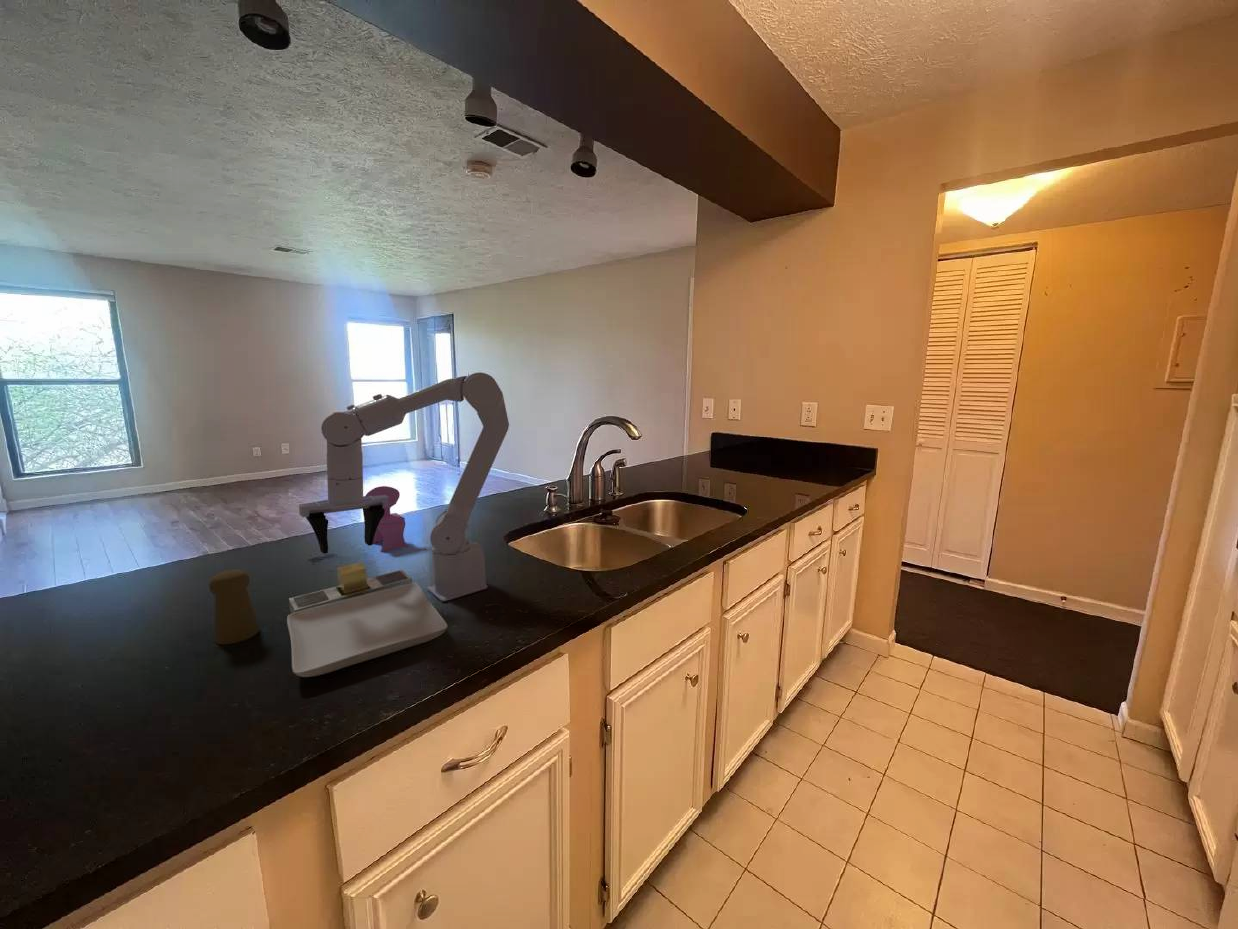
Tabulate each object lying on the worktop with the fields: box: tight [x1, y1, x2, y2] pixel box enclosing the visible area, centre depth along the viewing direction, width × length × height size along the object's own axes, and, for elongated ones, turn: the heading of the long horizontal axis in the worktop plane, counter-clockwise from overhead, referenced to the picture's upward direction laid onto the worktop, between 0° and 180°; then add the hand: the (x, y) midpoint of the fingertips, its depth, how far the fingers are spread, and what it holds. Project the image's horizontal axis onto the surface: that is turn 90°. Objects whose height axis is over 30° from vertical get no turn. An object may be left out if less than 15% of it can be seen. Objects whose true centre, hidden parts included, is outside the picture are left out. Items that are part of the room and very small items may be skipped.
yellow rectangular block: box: [336, 562, 368, 596], centre depth 93 cm, size 4×4×6 cm
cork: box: [208, 569, 261, 645], centre depth 80 cm, size 6×6×11 cm
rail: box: [288, 569, 413, 614], centre depth 93 cm, size 20×6×2 cm, turn 132°
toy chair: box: [365, 485, 408, 553], centre depth 123 cm, size 8×9×15 cm
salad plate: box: [286, 582, 448, 678], centre depth 80 cm, size 21×21×3 cm
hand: (347, 547), depth 91 cm, fingers open, 7 cm apart
